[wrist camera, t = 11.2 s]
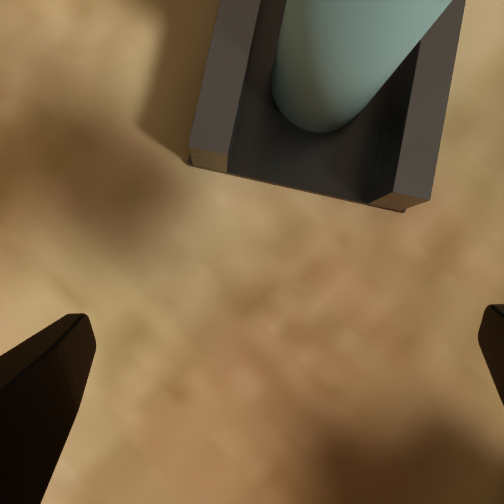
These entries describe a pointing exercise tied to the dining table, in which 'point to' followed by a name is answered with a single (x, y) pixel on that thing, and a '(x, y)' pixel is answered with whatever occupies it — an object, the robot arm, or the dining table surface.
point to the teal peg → (342, 55)
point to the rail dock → (322, 143)
